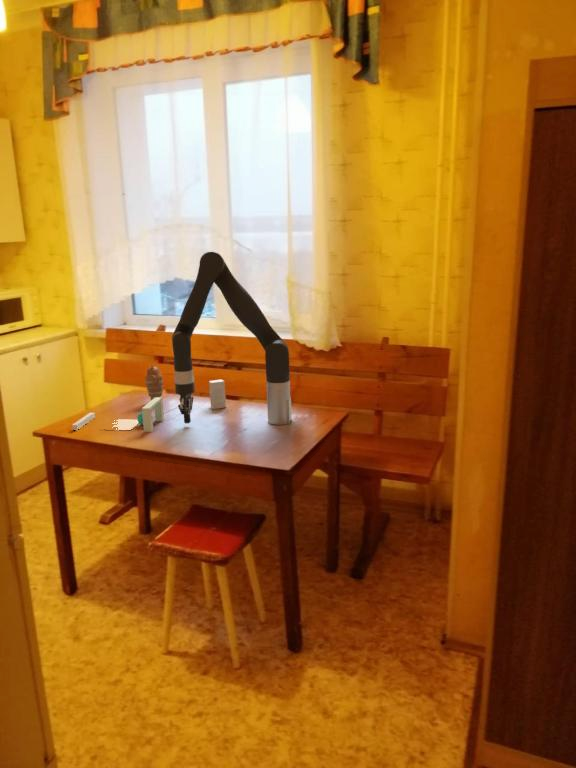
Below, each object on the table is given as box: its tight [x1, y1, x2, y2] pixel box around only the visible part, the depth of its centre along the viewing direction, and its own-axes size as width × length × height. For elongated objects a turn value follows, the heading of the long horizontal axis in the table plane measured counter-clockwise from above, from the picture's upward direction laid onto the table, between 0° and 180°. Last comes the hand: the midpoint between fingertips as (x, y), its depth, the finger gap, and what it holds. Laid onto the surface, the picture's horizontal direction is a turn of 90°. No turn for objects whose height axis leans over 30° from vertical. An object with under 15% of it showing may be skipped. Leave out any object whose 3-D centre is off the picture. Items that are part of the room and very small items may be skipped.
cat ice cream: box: [144, 363, 164, 401], centre depth 269 cm, size 9×8×18 cm
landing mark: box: [112, 418, 140, 431], centre depth 244 cm, size 13×13×1 cm
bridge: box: [141, 396, 165, 433], centre depth 240 cm, size 3×15×10 cm, turn 172°
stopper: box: [71, 412, 96, 431], centre depth 245 cm, size 2×16×2 cm, turn 172°
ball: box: [136, 411, 143, 426], centre depth 242 cm, size 6×6×6 cm
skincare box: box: [208, 379, 227, 410], centre depth 262 cm, size 6×4×12 cm
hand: (187, 422), depth 239 cm, fingers closed
